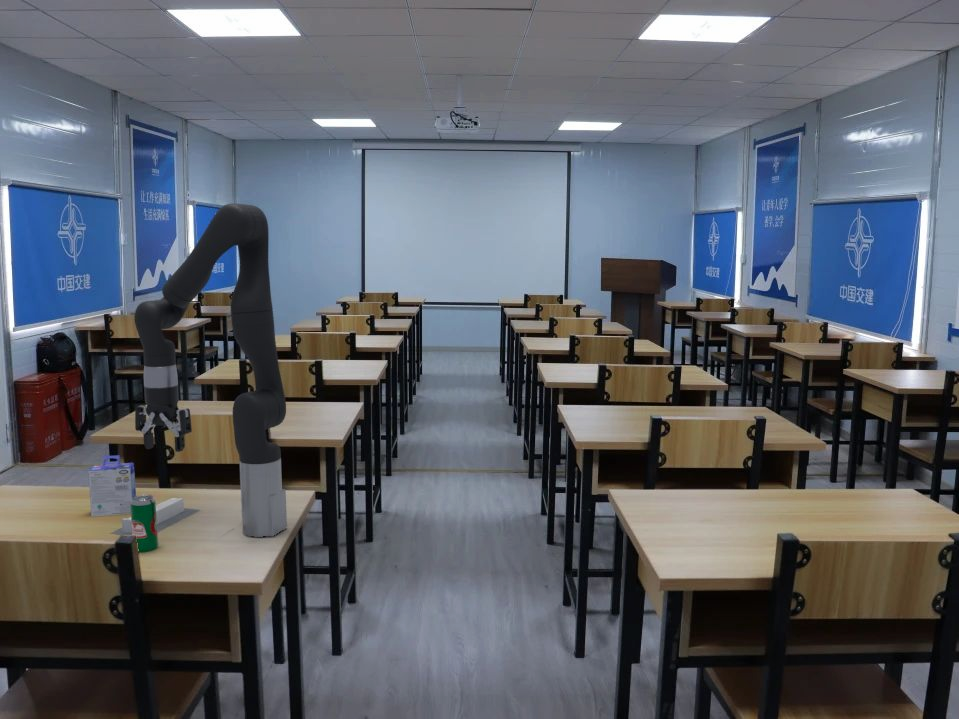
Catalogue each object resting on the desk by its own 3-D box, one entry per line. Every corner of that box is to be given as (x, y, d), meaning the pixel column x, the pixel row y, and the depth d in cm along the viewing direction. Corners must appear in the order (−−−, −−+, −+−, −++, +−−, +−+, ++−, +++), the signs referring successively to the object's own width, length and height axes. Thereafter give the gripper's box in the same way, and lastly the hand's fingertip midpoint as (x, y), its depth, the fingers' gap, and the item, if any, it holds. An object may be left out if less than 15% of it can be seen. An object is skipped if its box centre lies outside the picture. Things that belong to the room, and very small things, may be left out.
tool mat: (201, 512, 199) (201, 509, 198) (146, 540, 180) (146, 537, 180) (167, 508, 201) (167, 506, 201) (109, 535, 182) (109, 533, 182)
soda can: (128, 552, 173) (124, 499, 171) (147, 544, 177) (144, 492, 175) (144, 556, 170) (140, 502, 169) (163, 548, 175) (160, 496, 173)
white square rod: (187, 511, 197) (186, 499, 197) (140, 534, 181) (139, 521, 181) (170, 509, 199) (169, 497, 198) (122, 532, 183) (121, 519, 182)
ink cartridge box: (137, 508, 202) (134, 453, 200) (134, 515, 196) (130, 458, 194) (95, 511, 199) (91, 455, 197) (90, 519, 194) (86, 461, 192)
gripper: (196, 382, 191) (199, 448, 193) (146, 379, 195) (150, 443, 198) (176, 388, 184) (179, 456, 186) (125, 384, 188) (129, 451, 190)
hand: (164, 449), depth 192 cm, fingers open, 8 cm apart
